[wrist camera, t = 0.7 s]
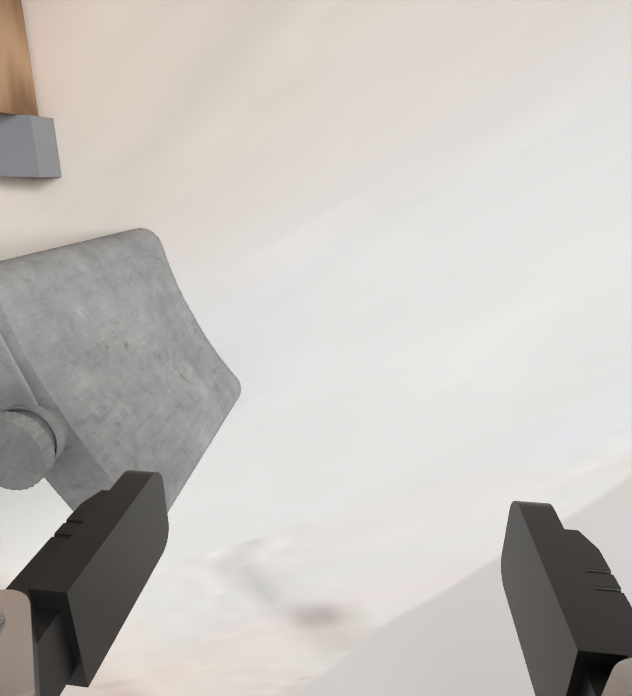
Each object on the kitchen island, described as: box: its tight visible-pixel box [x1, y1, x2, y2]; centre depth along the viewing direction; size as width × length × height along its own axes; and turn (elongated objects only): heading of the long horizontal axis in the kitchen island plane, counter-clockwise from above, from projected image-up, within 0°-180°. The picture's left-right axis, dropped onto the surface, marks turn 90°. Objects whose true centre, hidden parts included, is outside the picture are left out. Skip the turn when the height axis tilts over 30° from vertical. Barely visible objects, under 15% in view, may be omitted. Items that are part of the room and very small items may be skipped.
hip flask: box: [0, 228, 241, 513], centre depth 31 cm, size 16×4×20 cm, turn 26°
